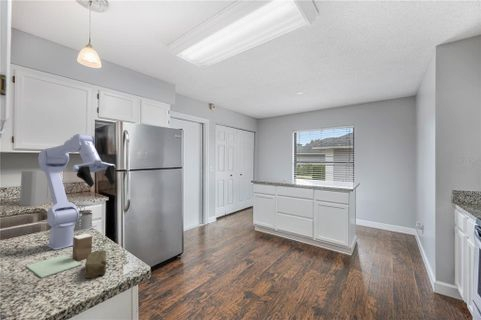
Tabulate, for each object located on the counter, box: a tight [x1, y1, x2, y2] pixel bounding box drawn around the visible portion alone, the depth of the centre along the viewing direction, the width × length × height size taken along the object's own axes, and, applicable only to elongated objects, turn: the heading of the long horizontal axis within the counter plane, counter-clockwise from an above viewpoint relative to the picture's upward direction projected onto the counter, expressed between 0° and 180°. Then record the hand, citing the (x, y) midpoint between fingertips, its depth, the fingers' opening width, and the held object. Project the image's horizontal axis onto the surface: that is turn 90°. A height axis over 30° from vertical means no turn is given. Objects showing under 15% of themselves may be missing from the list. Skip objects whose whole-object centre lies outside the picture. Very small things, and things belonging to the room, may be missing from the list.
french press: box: [73, 183, 95, 232], centre depth 120 cm, size 10×12×25 cm
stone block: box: [84, 249, 107, 279], centre depth 74 cm, size 6×12×5 cm, turn 32°
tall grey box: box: [19, 170, 52, 207], centre depth 180 cm, size 19×15×28 cm
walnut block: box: [71, 233, 93, 262], centre depth 84 cm, size 4×4×8 cm
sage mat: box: [25, 254, 83, 279], centre depth 76 cm, size 14×11×1 cm
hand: (103, 184), depth 82 cm, fingers open, 7 cm apart
